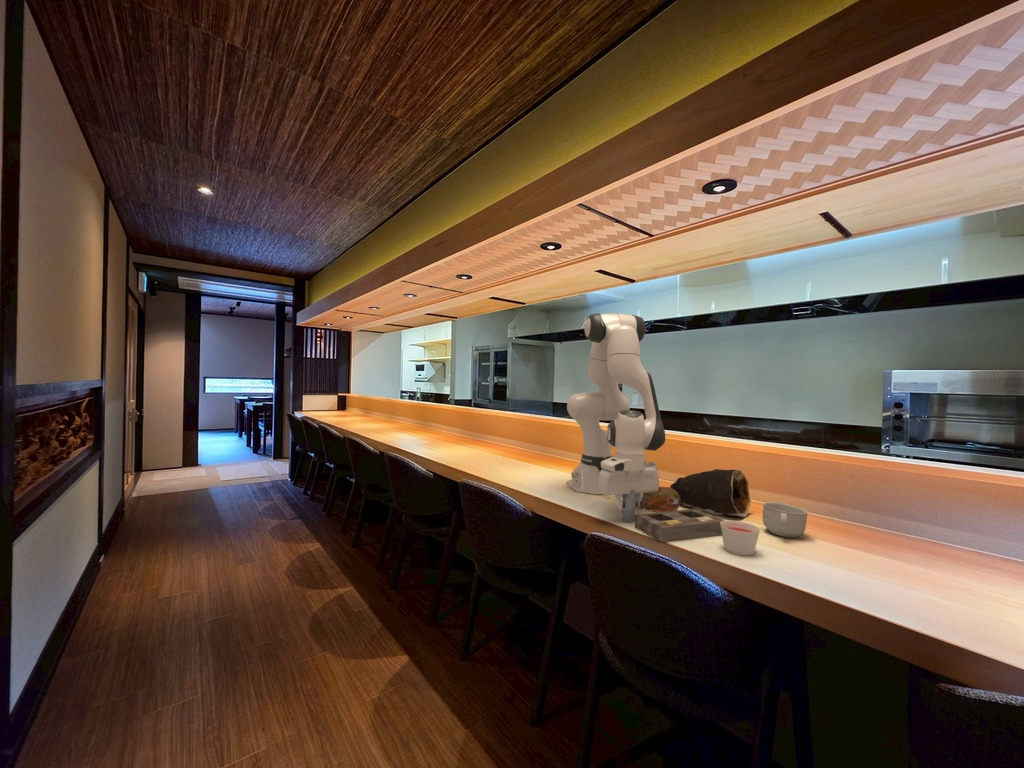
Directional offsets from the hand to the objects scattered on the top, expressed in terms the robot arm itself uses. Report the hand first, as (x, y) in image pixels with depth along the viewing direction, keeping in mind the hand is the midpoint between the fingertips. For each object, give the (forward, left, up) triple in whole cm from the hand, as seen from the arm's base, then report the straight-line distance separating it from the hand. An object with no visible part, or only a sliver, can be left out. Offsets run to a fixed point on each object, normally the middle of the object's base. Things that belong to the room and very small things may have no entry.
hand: (628, 507), depth 130 cm
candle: (+28, +14, -4) cm, 32 cm away
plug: (0, 0, -4) cm, 4 cm away
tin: (-7, +16, -4) cm, 18 cm away
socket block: (+12, +9, -4) cm, 16 cm away
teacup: (+23, +36, -4) cm, 43 cm away
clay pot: (-4, +34, -4) cm, 35 cm away
